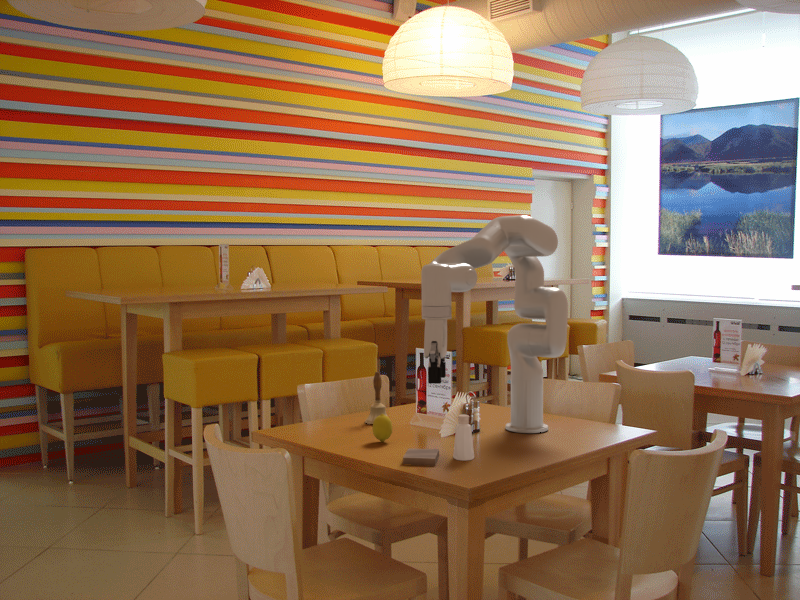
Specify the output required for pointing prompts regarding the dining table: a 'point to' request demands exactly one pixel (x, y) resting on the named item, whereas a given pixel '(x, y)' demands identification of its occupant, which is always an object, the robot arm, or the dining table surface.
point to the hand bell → (376, 401)
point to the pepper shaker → (463, 440)
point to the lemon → (382, 427)
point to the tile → (421, 456)
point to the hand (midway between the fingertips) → (437, 380)
